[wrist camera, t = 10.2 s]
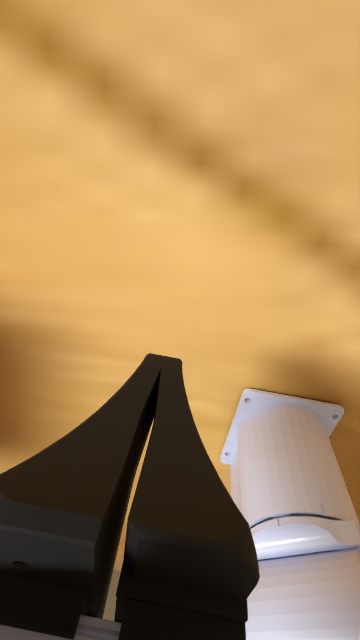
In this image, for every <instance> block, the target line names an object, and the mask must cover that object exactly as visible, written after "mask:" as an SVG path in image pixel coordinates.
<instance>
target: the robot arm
mask: <svg viewBox="0 0 360 640" xmlns="http://www.w3.org/2000/svg"><path fill="white" fill-rule="evenodd" d="M246 398H249V399H246ZM343 414H344V409H343V407H342V406H341V405H337V404H331V403H326V402H321V401H315V400H310V399H304V398H299V397H294V396H288V395H283V394H278V393H272V392H267V391H261V390H256V389H251V388H248V389H245V390H244V391H243V392H242V395H241V398H240V401H239V404H238V407H237V410H236V412H235V415H234V418H233V421H232V424H231V427H230V430H229V433H228V435H227V438H226V441H225V444H224V447H223V450H222V453H221V455H220V461H221V462H222V463H224V464H229V465H230V467H231V496H230V495H229V493H228V491H227V489H226V488H225V486H224V484H223V483H222V481H221V479H220V477H219V475H218V473H217V472H216V470H215V468H214V466H213V464H212V462H211V460H210V458H209V456H208V454H207V452H206V450H205V447H204V445H203V443H202V441H201V438H200V436H199V433H198V431H197V428H196V425H195V423H194V420H193V417H192V414H191V410H190V407H189V404H188V400H187V395H186V391H185V387H184V381H183V374H182V361H181V360H180V359H178V358H172V357H167V356H161V355H156V354H151V353H149V354H147V355H146V357H145V358H144V360H143V361H142V363H141V364H140V366H139V367H138V368H137V369H136V371H135V372H134V373H133V374H132V376H131V377H130V378H129V379H128V380H127V381H126V383H125V384H124V385H123V386H122V387H121V388H120V389H119V390H118V391H117V392H116V393H115V394H114V395H113V396H112V397H111V398H110V399H109V400H108V401H107V402H106V403H105V404H104V405H103V406H102V407H101V408H100V409H98V410H97V411H96V412H95V413H94V414H93V415H91V416H90V417H89V418H88V419H87V420H85V421H84V422H83V423H81V424H80V425H79V426H78V427H76V428H75V429H74V430H72V431H71V432H70V433H68V434H67V435H65V436H64V437H62V438H61V439H59V440H58V441H56V442H55V443H53V444H52V445H50V446H49V447H47V448H45V449H44V450H42V451H41V452H39V453H38V454H36V455H34V456H33V457H31V458H29V459H27V460H26V461H24V462H22V463H20V464H18V465H16V466H15V467H13V468H11V469H9V470H7V471H6V472H4V473H2V474H0V640H360V523H359V521H358V518H357V515H356V512H355V509H354V507H353V504H352V501H351V498H350V495H349V493H348V490H347V487H346V484H345V482H344V479H343V476H342V473H341V470H340V468H339V465H338V462H337V459H336V456H335V454H334V451H333V448H332V445H331V443H330V440H329V437H330V435H331V433H332V432H333V430H334V429H335V427H336V425H337V424H338V422H339V421H340V419H341V417H342V416H343ZM153 418H154V421H153ZM152 422H153V427H152V431H151V435H150V439H149V443H148V447H147V451H146V455H145V458H144V462H143V466H142V470H141V473H140V477H139V481H138V484H137V488H136V492H135V495H134V499H133V502H132V506H131V510H130V513H129V517H128V523H127V532H126V542H125V551H124V561H123V565H122V570H121V574H120V579H119V583H118V587H117V592H116V596H117V600H116V611H115V621H109V620H105V619H102V618H103V613H104V608H105V604H106V599H107V595H108V590H109V586H110V581H111V576H112V572H113V568H114V563H115V559H116V555H117V550H118V546H119V541H120V537H121V533H122V528H123V524H124V520H125V515H126V511H127V507H128V502H129V498H130V494H131V490H132V485H133V481H134V477H135V474H136V470H137V467H138V464H139V461H140V458H141V455H142V452H143V449H144V446H145V443H146V440H147V437H148V434H149V431H150V428H151V425H152Z"/></svg>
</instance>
